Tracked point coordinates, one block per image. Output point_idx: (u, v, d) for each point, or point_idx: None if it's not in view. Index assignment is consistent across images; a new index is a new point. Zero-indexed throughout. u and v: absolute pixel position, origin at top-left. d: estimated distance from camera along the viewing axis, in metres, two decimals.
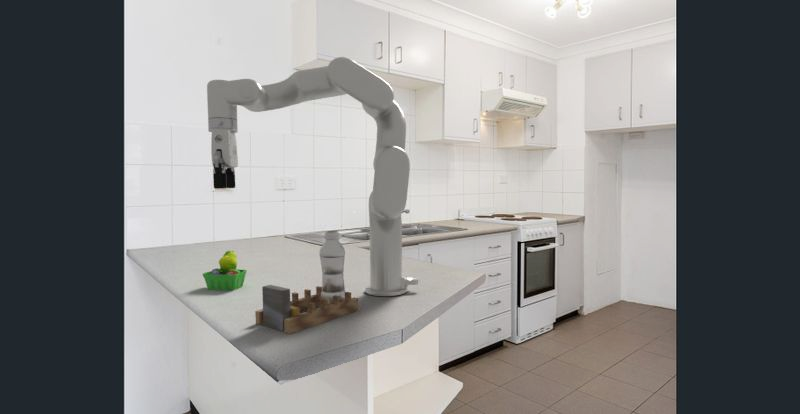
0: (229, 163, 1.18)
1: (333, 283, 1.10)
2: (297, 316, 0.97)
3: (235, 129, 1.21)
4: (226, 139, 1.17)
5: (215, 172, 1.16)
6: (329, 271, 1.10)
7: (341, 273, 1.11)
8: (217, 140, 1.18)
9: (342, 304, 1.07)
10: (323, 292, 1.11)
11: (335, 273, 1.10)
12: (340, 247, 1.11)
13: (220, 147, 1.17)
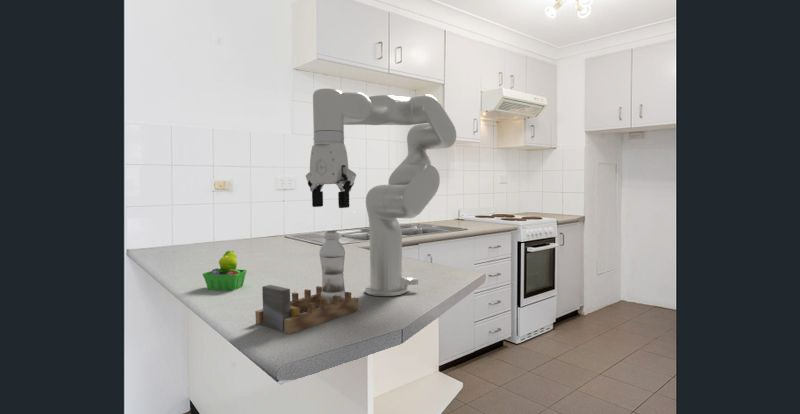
0: (310, 181, 1.12)
1: (333, 283, 1.10)
2: (297, 316, 0.97)
3: (315, 142, 1.09)
4: None
5: None
6: (329, 271, 1.10)
7: (341, 273, 1.11)
8: None
9: (342, 304, 1.07)
10: (323, 292, 1.11)
11: (335, 273, 1.10)
12: (340, 247, 1.11)
13: None
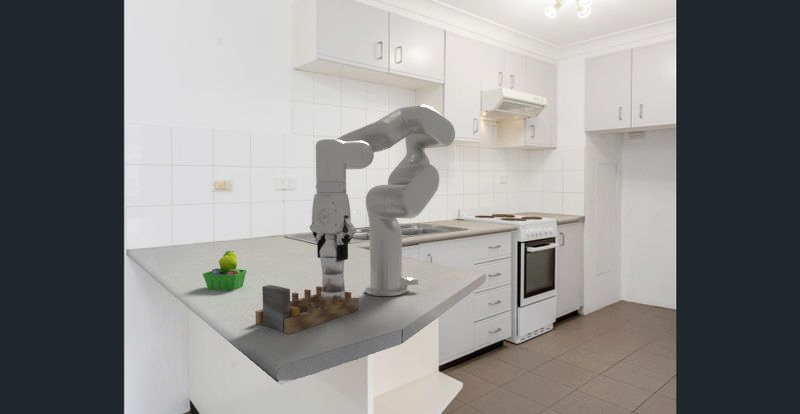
0: None
1: (333, 283, 1.10)
2: (297, 316, 0.97)
3: (317, 192, 1.09)
4: None
5: None
6: (330, 271, 1.10)
7: (341, 273, 1.11)
8: None
9: (342, 304, 1.07)
10: (323, 292, 1.11)
11: (335, 273, 1.10)
12: None
13: None
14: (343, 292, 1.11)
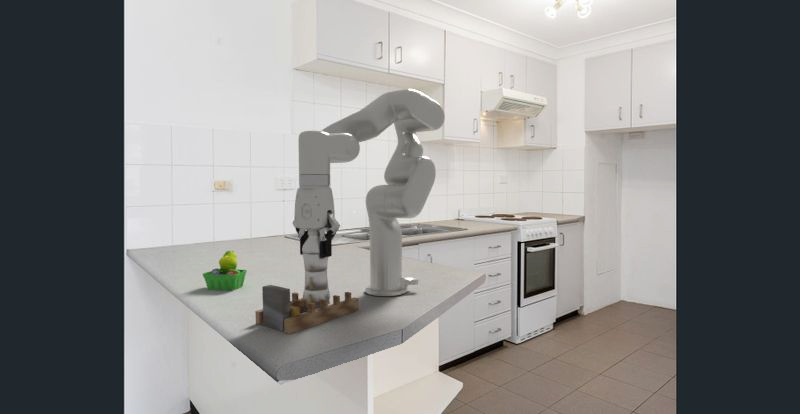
0: (295, 224, 1.08)
1: (316, 281, 1.05)
2: (297, 316, 0.97)
3: (300, 186, 1.05)
4: None
5: None
6: (312, 268, 1.05)
7: (324, 270, 1.07)
8: None
9: (342, 304, 1.07)
10: (305, 290, 1.06)
11: (318, 270, 1.05)
12: None
13: None
14: (326, 290, 1.07)
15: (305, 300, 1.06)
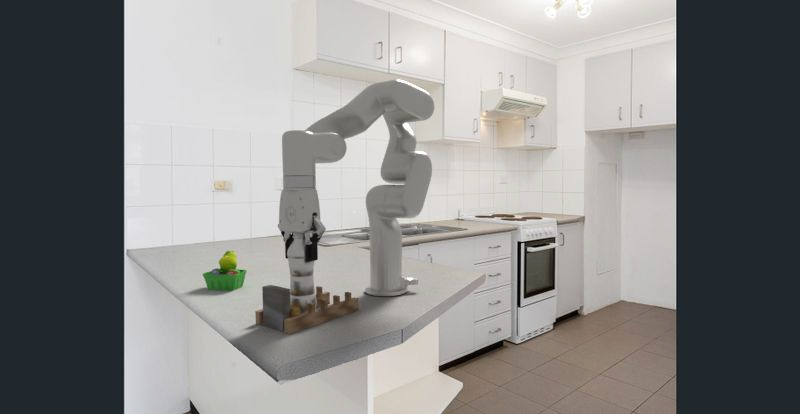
0: (279, 227, 1.04)
1: (301, 286, 1.02)
2: (297, 316, 0.97)
3: (284, 188, 1.01)
4: None
5: None
6: (297, 273, 1.02)
7: (310, 275, 1.03)
8: None
9: (342, 304, 1.07)
10: (291, 295, 1.03)
11: (303, 275, 1.02)
12: None
13: None
14: (313, 295, 1.03)
15: None
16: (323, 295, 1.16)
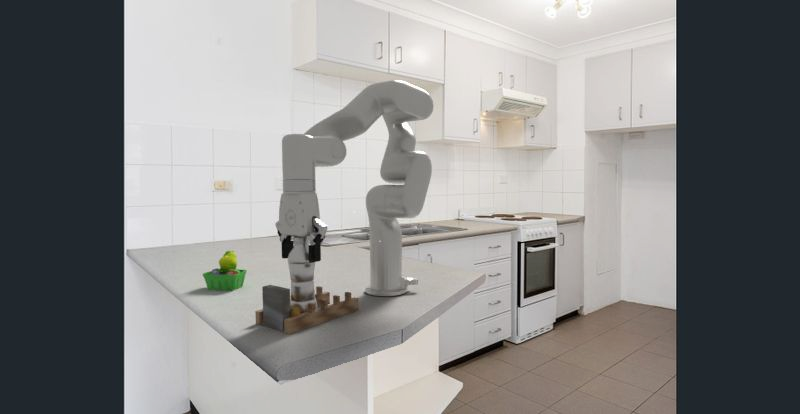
0: None
1: (302, 292, 1.02)
2: (297, 316, 0.97)
3: (284, 191, 1.01)
4: None
5: None
6: (298, 278, 1.02)
7: (311, 280, 1.03)
8: None
9: (342, 304, 1.07)
10: (291, 301, 1.03)
11: (304, 280, 1.02)
12: None
13: None
14: (313, 301, 1.03)
15: None
16: (323, 295, 1.16)
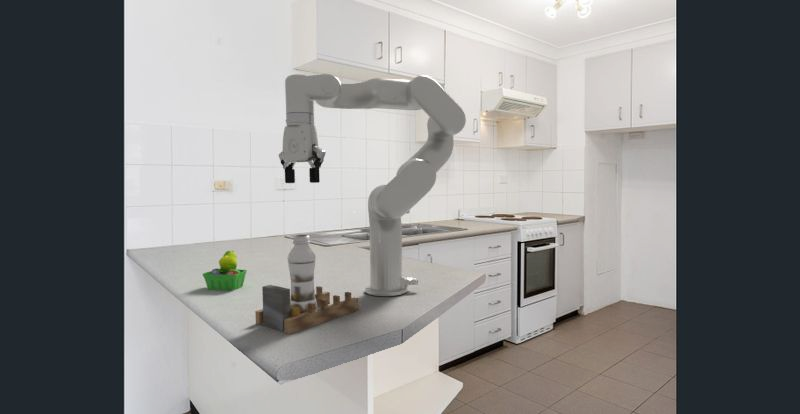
0: (283, 159, 1.23)
1: (302, 292, 1.02)
2: (297, 316, 0.97)
3: (287, 123, 1.19)
4: None
5: None
6: (298, 278, 1.02)
7: (311, 280, 1.03)
8: None
9: (342, 304, 1.07)
10: (291, 301, 1.03)
11: (304, 280, 1.02)
12: (310, 252, 1.03)
13: None
14: (313, 301, 1.03)
15: None
16: (323, 295, 1.16)
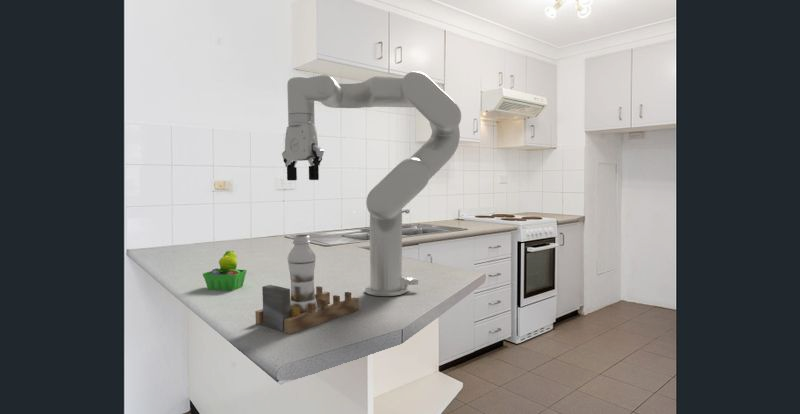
0: (285, 157, 1.29)
1: (302, 292, 1.02)
2: (297, 316, 0.97)
3: (289, 123, 1.26)
4: None
5: None
6: (298, 278, 1.02)
7: (311, 280, 1.03)
8: None
9: (342, 304, 1.07)
10: (291, 301, 1.03)
11: (304, 280, 1.02)
12: (310, 252, 1.03)
13: None
14: (313, 301, 1.03)
15: None
16: (323, 295, 1.16)
